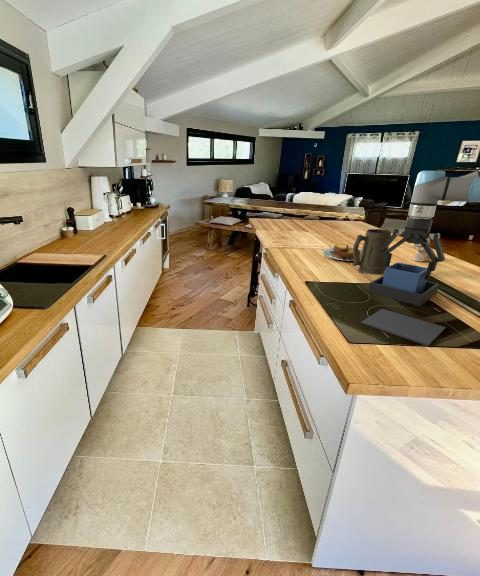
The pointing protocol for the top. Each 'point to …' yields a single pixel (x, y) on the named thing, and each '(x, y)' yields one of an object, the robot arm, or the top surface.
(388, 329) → the mat
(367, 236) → the beer stein
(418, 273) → the blue bin
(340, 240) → the top surface
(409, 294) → the charcoal bin
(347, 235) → the top surface
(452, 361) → the top surface
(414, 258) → the figurine
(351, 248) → the food on plate
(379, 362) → the top surface
